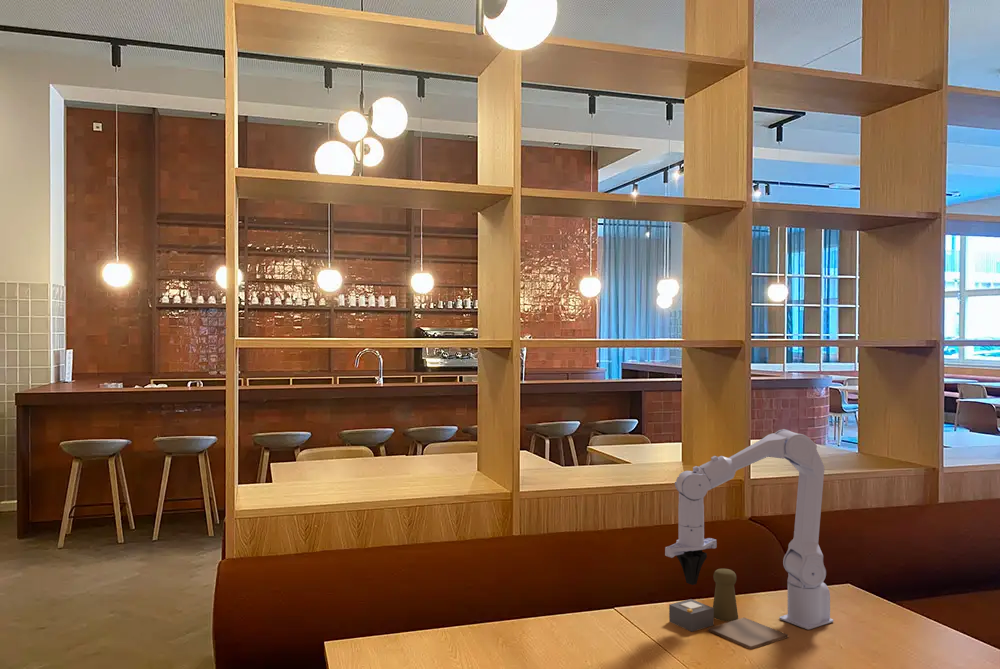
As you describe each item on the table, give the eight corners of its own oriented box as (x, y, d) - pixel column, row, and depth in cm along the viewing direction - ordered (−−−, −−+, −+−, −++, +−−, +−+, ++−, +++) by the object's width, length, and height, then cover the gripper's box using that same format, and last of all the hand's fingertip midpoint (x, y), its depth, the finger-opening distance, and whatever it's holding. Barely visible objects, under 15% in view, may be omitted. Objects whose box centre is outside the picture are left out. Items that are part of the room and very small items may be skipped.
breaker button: (691, 613, 179) (691, 601, 179) (702, 618, 176) (702, 605, 176) (680, 616, 177) (680, 604, 177) (691, 621, 174) (691, 608, 174)
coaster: (744, 620, 179) (744, 617, 179) (787, 637, 169) (787, 634, 169) (707, 630, 173) (707, 628, 173) (750, 649, 162) (750, 646, 162)
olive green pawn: (739, 622, 178) (739, 574, 178) (712, 620, 179) (712, 573, 179) (736, 612, 184) (736, 566, 184) (710, 611, 185) (710, 565, 185)
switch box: (691, 615, 182) (691, 597, 182) (713, 625, 176) (713, 606, 176) (669, 621, 178) (669, 602, 178) (691, 631, 172) (691, 612, 172)
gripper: (700, 516, 184) (700, 573, 184) (655, 524, 176) (655, 584, 176) (723, 522, 178) (723, 581, 178) (677, 531, 170) (678, 592, 170)
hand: (691, 583), depth 177 cm, fingers closed
